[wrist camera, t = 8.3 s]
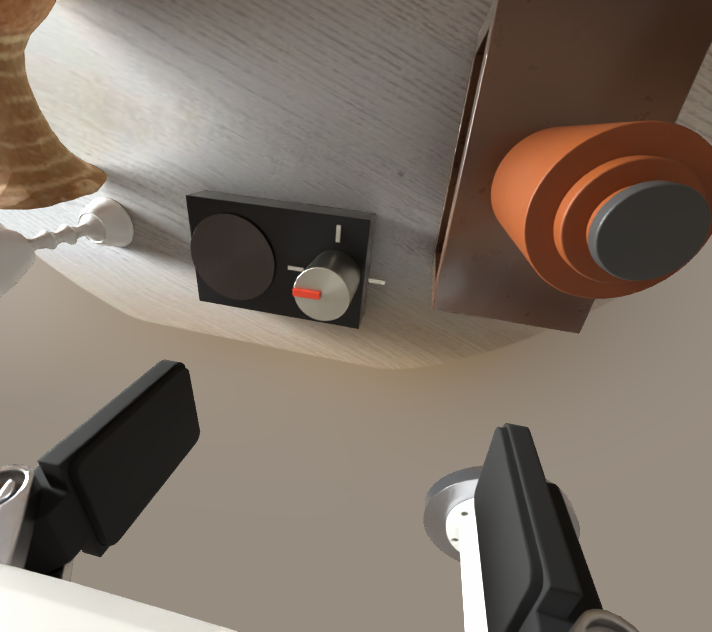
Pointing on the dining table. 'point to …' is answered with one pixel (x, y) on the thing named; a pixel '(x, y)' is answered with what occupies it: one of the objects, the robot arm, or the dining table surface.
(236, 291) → the burner
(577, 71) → the shelf
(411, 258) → the dining table surface
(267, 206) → the stove
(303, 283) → the stove knob
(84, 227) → the chalice
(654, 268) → the bottle
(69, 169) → the jug
